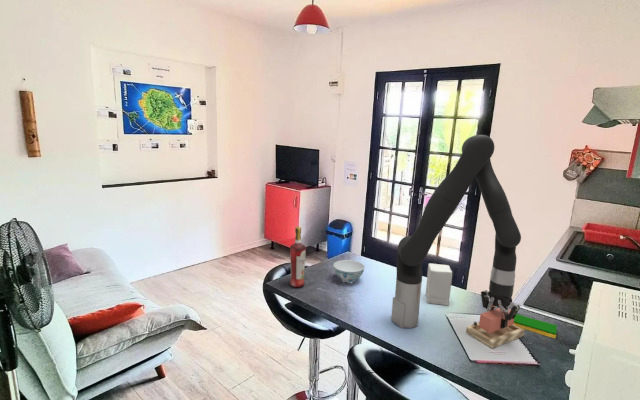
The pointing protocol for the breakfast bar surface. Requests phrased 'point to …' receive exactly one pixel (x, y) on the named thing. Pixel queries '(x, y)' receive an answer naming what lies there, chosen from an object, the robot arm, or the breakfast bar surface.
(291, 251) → the liquor
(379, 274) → the breakfast bar surface
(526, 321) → the dish sponge
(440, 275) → the supplement box
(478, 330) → the wooden tray
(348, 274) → the chinaware
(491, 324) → the salmon pink brick
